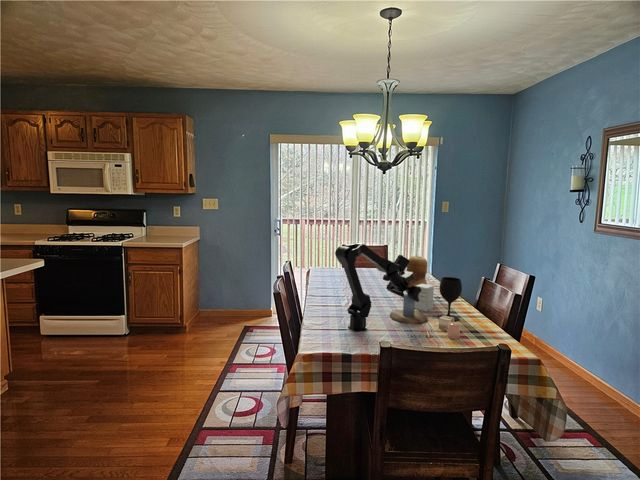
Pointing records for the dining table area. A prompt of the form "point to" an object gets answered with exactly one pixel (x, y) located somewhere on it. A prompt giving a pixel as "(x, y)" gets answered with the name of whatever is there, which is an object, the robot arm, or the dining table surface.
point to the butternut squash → (417, 270)
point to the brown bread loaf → (416, 319)
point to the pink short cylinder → (453, 330)
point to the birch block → (445, 322)
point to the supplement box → (425, 297)
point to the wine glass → (450, 292)
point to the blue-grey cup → (408, 306)
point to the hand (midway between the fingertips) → (411, 299)
